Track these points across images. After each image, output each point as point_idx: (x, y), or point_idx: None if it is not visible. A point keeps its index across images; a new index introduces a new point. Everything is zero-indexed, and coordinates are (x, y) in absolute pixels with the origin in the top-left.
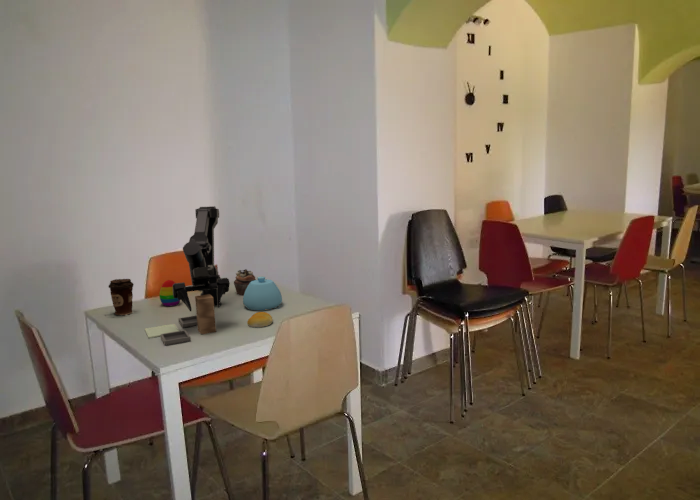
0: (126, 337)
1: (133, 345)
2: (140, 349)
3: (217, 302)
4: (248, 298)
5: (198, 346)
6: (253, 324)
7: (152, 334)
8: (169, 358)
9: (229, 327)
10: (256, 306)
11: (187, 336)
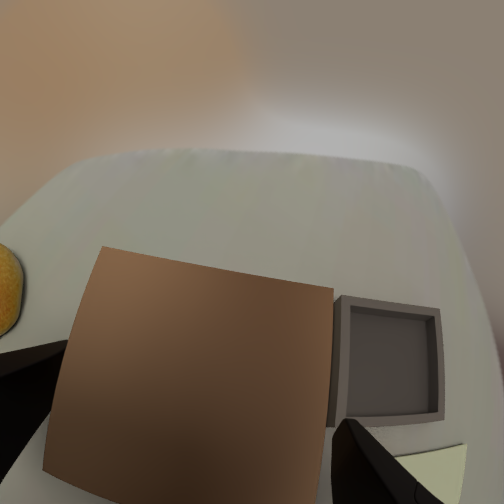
0: (500, 483)
1: (500, 385)
2: (485, 331)
3: (47, 382)
4: None
5: (317, 227)
6: (18, 267)
7: (450, 472)
8: (411, 200)
9: None
10: None
11: (348, 322)
